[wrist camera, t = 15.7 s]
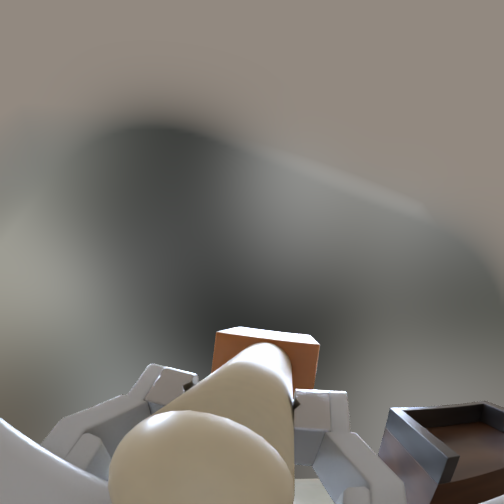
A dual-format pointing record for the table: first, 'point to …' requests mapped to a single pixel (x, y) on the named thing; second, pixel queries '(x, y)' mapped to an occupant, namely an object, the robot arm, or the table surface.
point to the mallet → (222, 428)
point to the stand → (446, 452)
